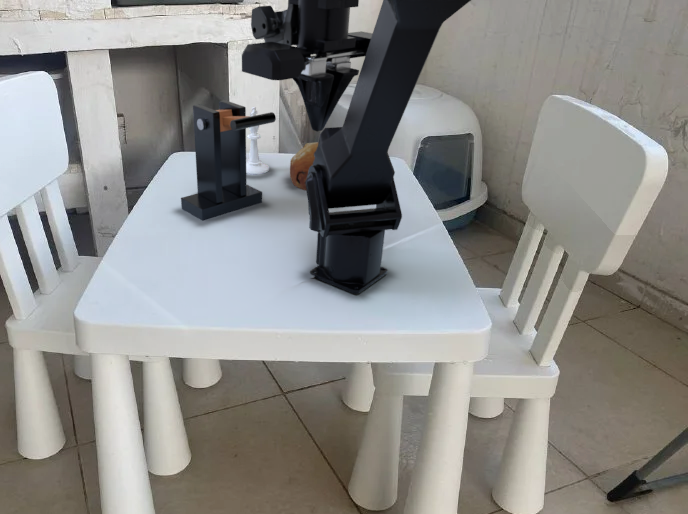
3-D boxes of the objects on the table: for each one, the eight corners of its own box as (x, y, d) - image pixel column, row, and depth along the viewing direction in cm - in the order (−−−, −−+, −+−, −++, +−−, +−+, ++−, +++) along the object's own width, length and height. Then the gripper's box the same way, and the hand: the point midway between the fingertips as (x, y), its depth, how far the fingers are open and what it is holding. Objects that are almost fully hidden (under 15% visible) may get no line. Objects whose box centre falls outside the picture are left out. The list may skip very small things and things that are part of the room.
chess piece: (233, 174, 95) (231, 109, 90) (246, 164, 99) (245, 101, 94) (262, 179, 94) (262, 113, 88) (274, 169, 97) (275, 105, 92)
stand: (262, 205, 85) (262, 104, 78) (202, 223, 79) (197, 116, 72) (240, 194, 88) (238, 96, 81) (181, 211, 82) (174, 108, 75)
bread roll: (352, 199, 97) (356, 148, 96) (354, 195, 87) (358, 137, 86) (290, 195, 98) (293, 144, 97) (285, 190, 87) (288, 134, 86)
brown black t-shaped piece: (276, 127, 74) (274, 106, 73) (237, 136, 71) (234, 114, 70) (233, 126, 80) (230, 107, 80) (195, 134, 77) (192, 114, 76)
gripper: (333, -24, 75) (325, 105, 83) (208, -19, 65) (214, 127, 73) (403, -17, 68) (387, 123, 76) (277, -10, 58) (274, 151, 66)
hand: (317, 130), depth 73 cm, fingers closed
